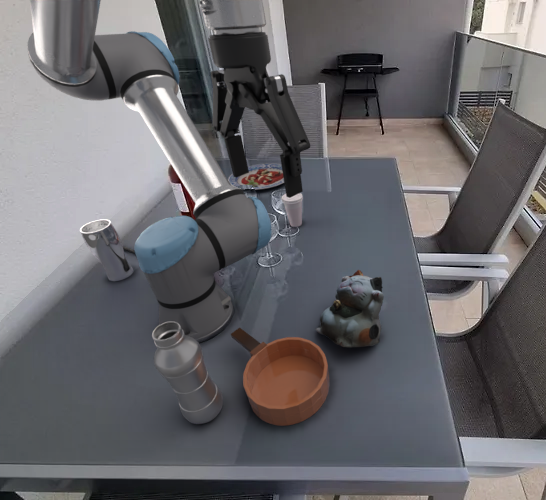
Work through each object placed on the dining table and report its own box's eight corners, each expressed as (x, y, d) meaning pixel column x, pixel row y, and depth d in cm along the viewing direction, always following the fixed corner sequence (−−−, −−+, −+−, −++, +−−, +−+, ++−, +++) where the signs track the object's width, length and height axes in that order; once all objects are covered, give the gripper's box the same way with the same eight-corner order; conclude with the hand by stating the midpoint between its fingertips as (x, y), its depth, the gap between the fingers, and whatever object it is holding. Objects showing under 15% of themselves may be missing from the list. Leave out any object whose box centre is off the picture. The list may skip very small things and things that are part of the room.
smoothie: (282, 227, 110) (274, 186, 102) (292, 217, 115) (286, 177, 107) (300, 230, 108) (294, 188, 100) (309, 220, 112) (304, 180, 104)
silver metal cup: (141, 269, 94) (118, 221, 86) (117, 285, 89) (90, 236, 81) (124, 263, 97) (99, 216, 88) (100, 278, 92) (72, 230, 83)
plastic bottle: (214, 432, 57) (173, 352, 45) (177, 425, 58) (129, 345, 47) (232, 397, 62) (200, 316, 50) (198, 391, 63) (159, 311, 52)
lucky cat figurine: (307, 324, 75) (317, 261, 73) (354, 322, 81) (365, 265, 79) (339, 357, 63) (353, 282, 61) (392, 352, 69) (406, 284, 67)
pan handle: (231, 343, 69) (227, 334, 67) (244, 333, 71) (241, 324, 69) (257, 365, 64) (254, 356, 63) (270, 353, 66) (268, 344, 65)
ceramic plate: (264, 164, 156) (262, 157, 154) (307, 175, 143) (306, 168, 141) (216, 185, 139) (214, 178, 137) (259, 200, 126) (258, 192, 124)
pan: (232, 392, 63) (226, 375, 60) (292, 342, 71) (288, 325, 69) (286, 444, 55) (281, 427, 52) (345, 380, 64) (344, 363, 61)
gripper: (162, 33, 49) (204, 174, 62) (278, 33, 36) (302, 214, 48) (209, 29, 54) (239, 161, 66) (327, 28, 41) (338, 194, 53)
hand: (266, 183), depth 57 cm, fingers open, 13 cm apart
